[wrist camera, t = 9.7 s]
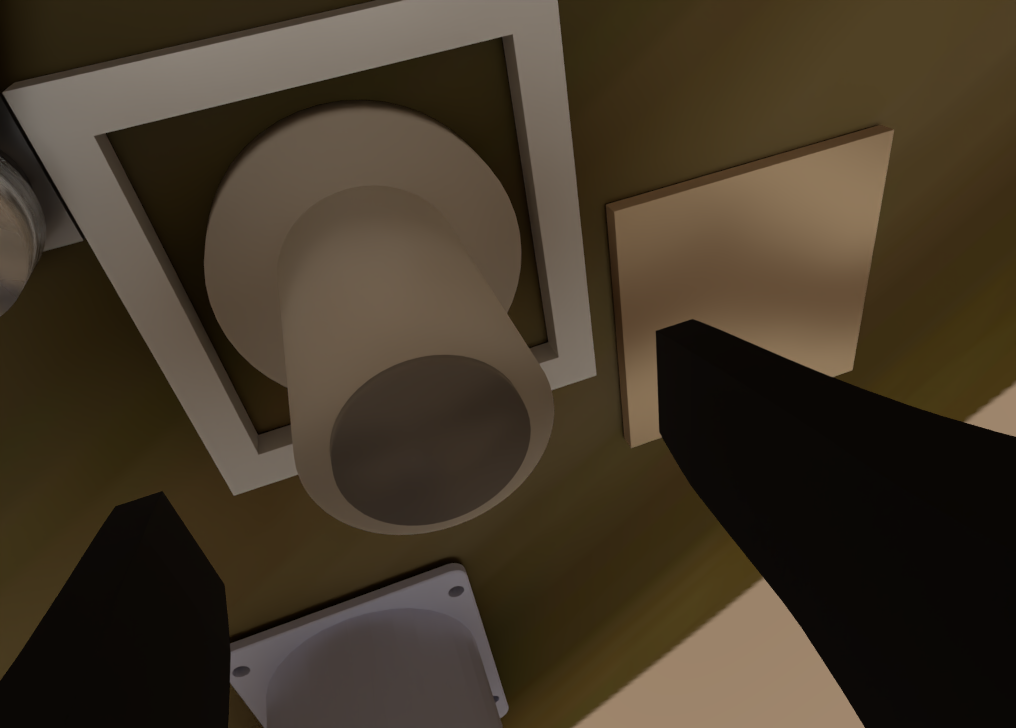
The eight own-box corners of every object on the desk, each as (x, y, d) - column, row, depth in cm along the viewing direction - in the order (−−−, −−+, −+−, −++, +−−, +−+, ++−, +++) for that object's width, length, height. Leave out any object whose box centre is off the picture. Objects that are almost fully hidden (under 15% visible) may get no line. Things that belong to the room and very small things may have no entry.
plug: (524, 329, 19) (651, 523, 13) (273, 408, 18) (287, 659, 12) (478, 64, 15) (632, 172, 9) (147, 147, 14) (77, 331, 8)
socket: (585, 360, 20) (596, 375, 19) (234, 475, 18) (234, 495, 18) (539, -38, 14) (553, -34, 13) (15, 82, 12) (1, 92, 12)
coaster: (842, 362, 23) (852, 370, 23) (624, 438, 22) (631, 448, 22) (880, 124, 19) (894, 129, 18) (605, 204, 17) (613, 211, 17)
